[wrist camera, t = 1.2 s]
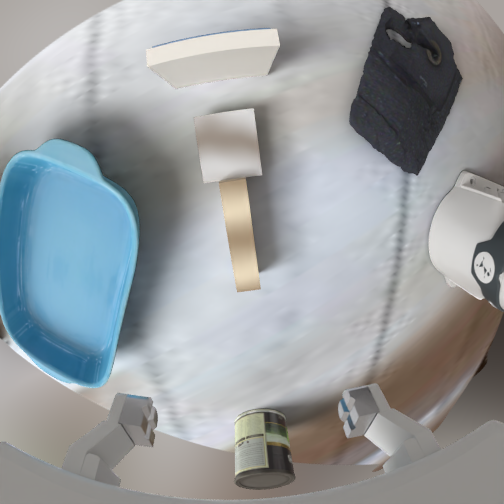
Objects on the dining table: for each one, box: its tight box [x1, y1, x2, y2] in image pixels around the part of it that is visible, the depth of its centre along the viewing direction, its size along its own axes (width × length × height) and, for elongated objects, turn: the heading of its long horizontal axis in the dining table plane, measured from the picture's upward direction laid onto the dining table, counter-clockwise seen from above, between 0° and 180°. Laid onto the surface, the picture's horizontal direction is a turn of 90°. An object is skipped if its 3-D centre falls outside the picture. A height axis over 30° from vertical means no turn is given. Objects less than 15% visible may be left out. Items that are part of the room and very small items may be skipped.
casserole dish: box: [0, 139, 140, 388], centre depth 29 cm, size 37×22×7 cm, turn 155°
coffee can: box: [234, 409, 295, 490], centre depth 40 cm, size 10×10×14 cm
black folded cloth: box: [349, 7, 462, 176], centre depth 23 cm, size 15×22×5 cm
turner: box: [194, 108, 262, 292], centre depth 28 cm, size 19×6×4 cm, turn 7°
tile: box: [146, 28, 280, 89], centre depth 20 cm, size 2×10×10 cm, turn 97°
